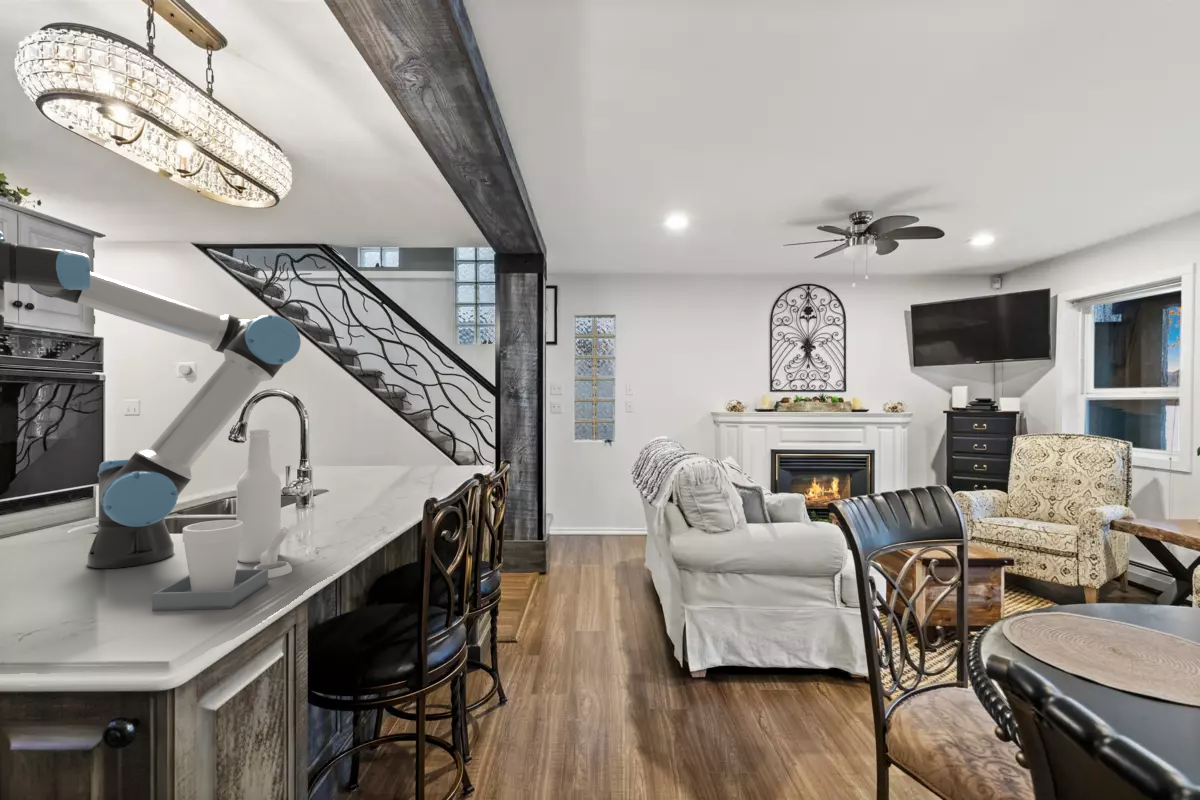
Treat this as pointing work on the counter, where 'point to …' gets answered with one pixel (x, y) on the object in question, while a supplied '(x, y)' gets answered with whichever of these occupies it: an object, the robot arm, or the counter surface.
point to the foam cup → (212, 554)
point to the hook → (274, 557)
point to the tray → (209, 593)
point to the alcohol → (258, 500)
